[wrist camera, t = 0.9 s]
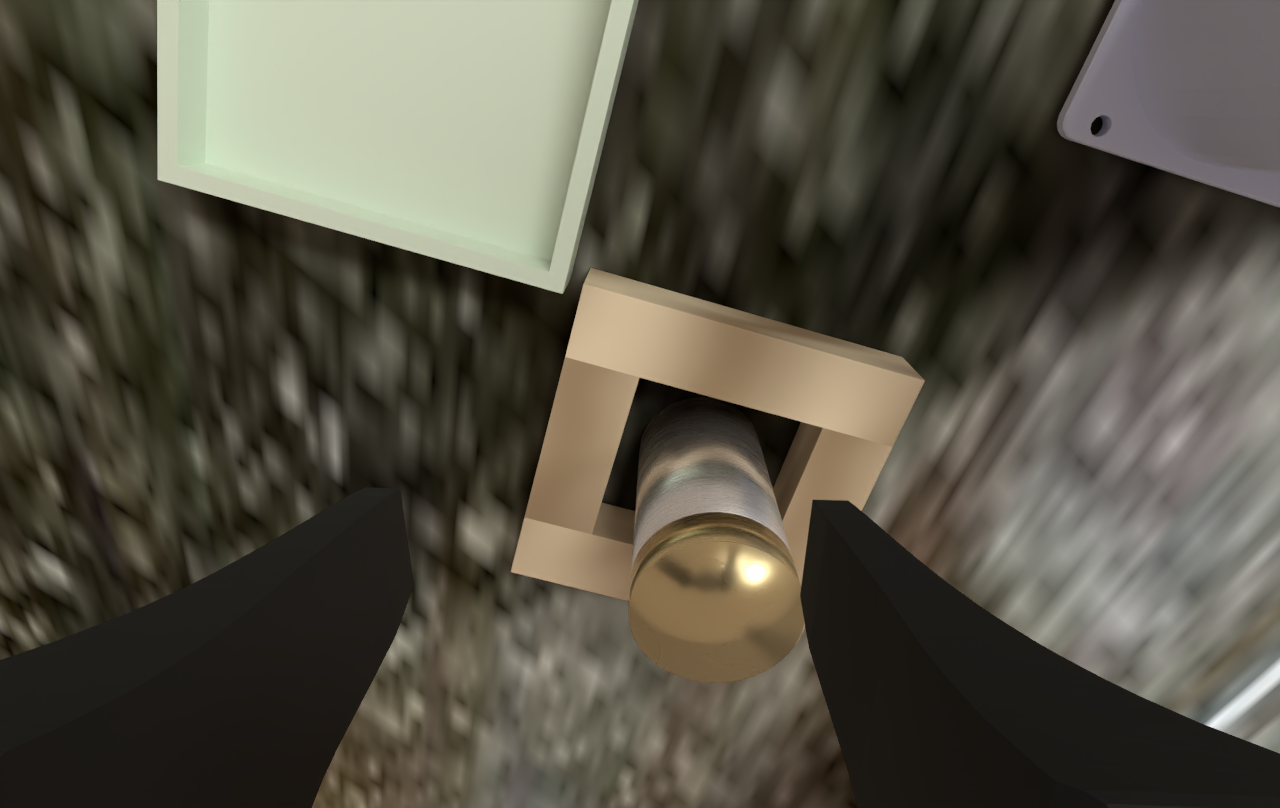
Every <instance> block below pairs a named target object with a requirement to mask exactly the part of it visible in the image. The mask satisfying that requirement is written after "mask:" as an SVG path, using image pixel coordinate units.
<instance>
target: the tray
mask: <svg viewBox="0 0 1280 808" xmlns="http://www.w3.org/2000/svg"><path fill="white" fill-rule="evenodd" d="M638 2H639V0H157V95H158V180H161V181H164V182H168V183H171V184H175V185H178V186H182V187H185V188H189V189H192V190H196V191H199V192H203V193H207V194H210V195H214V196H217V197H221V198H224V199H228V200H231V201H235V202H238V203H242V204H245V205H249V206H253V207H256V208H260V209H263V210H267V211H270V212H274V213H277V214H281V215H284V216H288V217H292V218H295V219H299V220H302V221H306V222H309V223H313V224H316V225H320V226H323V227H327V228H330V229H334V230H338V231H341V232H345V233H348V234H352V235H355V236H359V237H362V238H366V239H369V240H373V241H376V242H380V243H384V244H387V245H391V246H394V247H398V248H401V249H405V250H408V251H412V252H415V253H419V254H423V255H426V256H430V257H433V258H437V259H440V260H444V261H447V262H451V263H454V264H458V265H461V266H465V267H469V268H472V269H476V270H479V271H483V272H486V273H490V274H493V275H497V276H500V277H504V278H507V279H511V280H515V281H518V282H522V283H525V284H529V285H532V286H536V287H539V288H543V289H546V290H550V291H554V292H557V293H561V294H563V292H564V291H565V289H566V287H567V285H568V283H569V281H570V279H571V275H572V271H573V267H574V263H575V259H576V255H577V251H578V247H579V243H580V239H581V235H582V230H583V226H584V222H585V218H586V214H587V210H588V206H589V202H590V198H591V194H592V190H593V186H594V181H595V177H596V173H597V169H598V165H599V161H600V157H601V153H602V149H603V145H604V141H605V136H606V132H607V128H608V124H609V120H610V116H611V112H612V108H613V104H614V100H615V96H616V92H617V87H618V83H619V79H620V75H621V71H622V67H623V63H624V59H625V55H626V51H627V47H628V43H629V38H630V34H631V30H632V26H633V22H634V18H635V14H636V10H637V6H638Z"/></svg>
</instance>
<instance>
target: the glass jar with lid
mask: <svg viewBox="0 0 1280 808" xmlns="http://www.w3.org/2000/svg"><path fill="white" fill-rule="evenodd" d="M800 592H801V585H800V582H799V578H798V575H797V571H796V568H795V564H794V561H793V557H792V554H791V550H790V547H789V544H788V540H787V537H786V533H785V530H784V526H783V523H782V519H781V516H780V512H779V509H778V505H777V502H776V498H775V495H774V491H773V488H772V484H771V481H770V477H769V474H768V470H767V467H766V464H765V460H764V457H763V453H762V450H761V446H760V443H759V439H758V436H757V433H756V430H755V428H754V426H753V425H752V423H751V422H750V420H749V419H748V418H747V417H746V416H745V415H744V414H743V413H742V412H741V411H740V410H738V409H737V408H735V407H734V406H732V405H730V404H728V403H726V402H723V401H720V400H717V399H712V398H703V397H701V398H689V399H684V400H681V401H678V402H675V403H673V404H671V405H669V406H667V407H665V408H664V409H663V410H661V411H660V412H659V413H657V414H656V415H655V416H654V417H653V418H652V420H651V421H650V422H649V424H648V425H647V427H646V429H645V430H644V433H643V435H642V438H641V442H640V450H639V465H638V480H637V495H636V510H635V525H634V540H633V555H632V570H631V585H630V600H629V624H630V628H631V632H632V634H633V636H634V639H635V641H636V642H637V644H638V646H639V647H640V649H641V650H642V651H643V652H644V654H645V655H646V656H647V657H648V658H649V659H650V660H651V661H653V662H654V663H655V664H657V665H658V666H659V667H661V668H662V669H664V670H666V671H668V672H670V673H672V674H674V675H677V676H679V677H682V678H685V679H689V680H694V681H699V682H708V683H724V682H732V681H738V680H742V679H746V678H749V677H752V676H755V675H757V674H760V673H762V672H764V671H766V670H768V669H769V668H771V667H773V666H774V665H776V664H777V663H778V662H779V661H781V660H782V659H783V658H784V657H785V656H786V655H787V654H788V653H789V652H790V651H791V650H792V648H793V647H794V646H795V644H796V643H797V641H798V639H799V637H800V635H801V633H802V630H803V627H804V623H805V622H804V616H803V610H802V604H801V598H800Z"/></svg>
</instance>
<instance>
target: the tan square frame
mask: <svg viewBox="0 0 1280 808" xmlns="http://www.w3.org/2000/svg"><path fill="white" fill-rule="evenodd" d="M639 378H644V379H647V380H651V381H654V382H658V383H662V384H665V385H669V386H673V387H676V388H680V389H684V390H687V391H691V392H694V393H698V394H702V395H705V396H709V397H713V398H716V399H720V400H724V401H727V402H731V403H734V404H738V405H742V406H745V407H749V408H753V409H756V410H760V411H764V412H767V413H771V414H775V415H778V416H782V417H785V418H789V419H793V420H796V421H800V422H801V423H800V425H799V427H798V430H797V432H796V435H795V437H794V439H793V442H792V444H791V447H790V449H789V451H788V454H787V456H786V459H785V461H784V463H783V466H782V468H781V471H780V473H779V475H778V478H777V480H776V482H775V485H774V487H773V491H774V495H775V498H776V502H777V505H778V509H779V512H780V516H781V519H782V523H783V526H784V530H785V533H786V537H787V540H788V544H789V547H790V550H791V554H792V557H793V561H794V564H795V568H796V571H797V575H798V578H799V582H800V585H801V584H802V577H803V569H804V561H805V554H806V546H807V538H808V531H809V523H810V516H811V508H812V500H845V501H849V502H851V503H852V504H853V505H855V506H856V507H857V508H858V509H859V510H861V511H862V509H863V507H864V505H865V503H866V501H867V499H868V497H869V495H870V493H871V491H872V489H873V487H874V484H875V482H876V480H877V478H878V476H879V474H880V472H881V470H882V468H883V466H884V464H885V462H886V460H887V458H888V456H889V454H890V452H891V449H892V447H893V445H894V443H895V441H896V439H897V437H898V435H899V433H900V431H901V429H902V427H903V425H904V423H905V421H906V419H907V417H908V414H909V412H910V410H911V408H912V406H913V404H914V402H915V400H916V398H917V396H918V394H919V392H920V390H921V388H922V386H923V384H924V382H925V380H924V379H923V378H922V377H921V376H920V375H919V374H918V373H917V372H916V371H915V370H914V369H913V368H912V367H911V366H910V365H909V363H908V362H907V361H906V360H905V359H904V358H903V357H900V356H897V355H893V354H890V353H886V352H883V351H879V350H876V349H872V348H869V347H866V346H862V345H859V344H855V343H852V342H848V341H845V340H841V339H838V338H834V337H831V336H827V335H824V334H820V333H817V332H813V331H810V330H806V329H803V328H799V327H796V326H792V325H789V324H785V323H782V322H778V321H775V320H771V319H768V318H764V317H761V316H757V315H754V314H750V313H747V312H743V311H740V310H736V309H733V308H729V307H726V306H722V305H719V304H716V303H712V302H709V301H705V300H702V299H698V298H695V297H691V296H688V295H684V294H681V293H677V292H674V291H670V290H667V289H663V288H660V287H656V286H653V285H649V284H646V283H642V282H639V281H635V280H632V279H628V278H625V277H621V276H618V275H614V274H611V273H607V272H604V271H600V270H597V269H593V268H590V271H589V273H588V275H587V277H586V280H585V282H584V284H583V288H582V292H581V296H580V300H579V304H578V308H577V312H576V316H575V320H574V324H573V328H572V332H571V336H570V340H569V344H568V348H567V352H566V356H565V359H564V363H563V367H562V371H561V375H560V379H559V383H558V387H557V391H556V395H555V399H554V403H553V407H552V411H551V415H550V419H549V423H548V427H547V431H546V434H545V438H544V442H543V446H542V450H541V454H540V458H539V462H538V466H537V470H536V474H535V478H534V482H533V486H532V490H531V494H530V498H529V502H528V506H527V509H526V513H525V517H524V521H523V525H522V529H521V533H520V537H519V541H518V545H517V549H516V553H515V557H514V561H513V565H512V569H511V572H513V573H517V574H521V575H525V576H529V577H533V578H537V579H541V580H545V581H549V582H553V583H557V584H561V585H566V586H570V587H574V588H578V589H582V590H586V591H590V592H594V593H598V594H602V595H606V596H610V597H614V598H618V599H622V600H626V601H629V600H630V585H631V570H632V555H633V540H634V525H635V511H633V510H629V509H625V508H621V507H617V506H613V505H609V504H605V503H602V499H603V496H604V493H605V489H606V486H607V483H608V480H609V476H610V473H611V470H612V466H613V463H614V460H615V457H616V453H617V450H618V447H619V443H620V440H621V437H622V433H623V430H624V427H625V424H626V420H627V417H628V414H629V410H630V407H631V404H632V401H633V397H634V394H635V391H636V387H637V384H638V381H639ZM804 628H805V623H804V627H803V630H802V633H803V631H804ZM802 633H801V635H802ZM801 635H800V637H801ZM800 637H799V639H800ZM799 639H798V641H799ZM798 641H797V643H798Z"/></svg>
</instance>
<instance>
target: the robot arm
mask: <svg viewBox="0 0 1280 808" xmlns="http://www.w3.org/2000/svg"><path fill="white" fill-rule="evenodd" d="M1099 116H1100V117H1101V118H1102V121H1103V125H1102V129H1101V130H1100V131H1099V132H1098V133H1097V134H1095V135H1093V134H1092V133H1091V130H1090V128H1091V124H1092V122H1093V121H1094V120H1095V118H1097V117H1099ZM1057 130H1058V132H1059V133H1060V135H1061V136H1062V137H1064V138H1065V139H1067V140H1070V141H1073V142H1076V143H1079V144H1082V145H1086V146H1089V147H1092V148H1095V149H1098V150H1101V151H1104V152H1107V153H1110V154H1114V155H1117V156H1120V157H1123V158H1126V159H1129V160H1132V161H1135V162H1138V163H1142V164H1145V165H1148V166H1151V167H1154V168H1157V169H1160V170H1163V171H1166V172H1170V173H1173V174H1176V175H1179V176H1182V177H1185V178H1188V179H1191V180H1194V181H1198V182H1201V183H1204V184H1207V185H1210V186H1213V187H1216V188H1219V189H1222V190H1226V191H1229V192H1232V193H1235V194H1238V195H1241V196H1244V197H1247V198H1251V199H1254V200H1257V201H1260V202H1263V203H1266V204H1269V205H1272V206H1275V207H1279V208H1280V0H1115V2H1114V4H1113V6H1112V8H1111V10H1110V12H1109V14H1108V16H1107V18H1106V20H1105V22H1104V24H1103V26H1102V28H1101V30H1100V32H1099V34H1098V36H1097V38H1096V40H1095V42H1094V45H1093V47H1092V49H1091V51H1090V53H1089V55H1088V57H1087V59H1086V61H1085V63H1084V65H1083V67H1082V69H1081V71H1080V73H1079V75H1078V77H1077V79H1076V81H1075V83H1074V85H1073V87H1072V90H1071V92H1070V94H1069V96H1068V98H1067V100H1066V102H1065V104H1064V106H1063V108H1062V110H1061V112H1060V114H1059V117H1058V120H1057ZM413 584H414V582H413V575H412V568H411V562H410V555H409V548H408V541H407V534H406V527H405V520H404V514H403V507H402V500H401V493H400V488H364V489H361V490H359V491H357V492H355V493H353V494H351V495H349V496H348V497H346V498H344V499H342V500H341V501H339V502H337V503H335V504H334V505H332V506H330V507H329V508H327V509H325V510H324V511H322V512H320V513H319V514H317V515H315V516H314V517H312V518H310V519H309V520H307V521H305V522H303V523H302V524H300V525H298V526H297V527H295V528H293V529H292V530H290V531H288V532H287V533H285V534H283V535H282V536H280V537H278V538H276V539H275V540H273V541H271V542H270V543H268V544H266V545H264V546H263V547H261V548H259V549H257V550H255V551H253V552H252V553H250V554H248V555H246V556H244V557H242V558H241V559H239V560H237V561H235V562H233V563H231V564H230V565H228V566H226V567H224V568H222V569H220V570H219V571H217V572H215V573H213V574H211V575H209V576H207V577H205V578H203V579H201V580H199V581H197V582H195V583H193V584H191V585H189V586H187V587H185V588H183V589H181V590H179V591H177V592H175V593H172V594H170V595H168V596H166V597H164V598H161V599H159V600H157V601H155V602H153V603H150V604H148V605H146V606H144V607H142V608H139V609H137V610H134V611H132V612H130V613H127V614H125V615H122V616H120V617H117V618H115V619H112V620H110V621H107V622H104V623H102V624H99V625H97V626H94V627H91V628H89V629H86V630H84V631H81V632H78V633H76V634H73V635H71V636H68V637H66V638H63V639H60V640H58V641H55V642H52V643H50V644H47V645H44V646H41V647H38V648H35V649H32V650H29V651H26V652H23V653H20V654H17V655H14V656H11V657H8V658H5V659H2V660H0V808H312V805H313V803H314V800H315V798H316V795H317V792H318V790H319V787H320V785H321V782H322V780H323V778H324V775H325V773H326V771H327V769H328V767H329V765H330V763H331V760H332V758H333V756H334V754H335V752H336V750H337V748H338V746H339V744H340V742H341V740H342V738H343V736H344V734H345V732H346V731H347V729H348V727H349V725H350V723H351V721H352V719H353V717H354V715H355V713H356V711H357V709H358V708H359V706H360V704H361V702H362V700H363V698H364V696H365V694H366V692H367V690H368V688H369V686H370V685H371V683H372V681H373V679H374V677H375V675H376V673H377V671H378V669H379V667H380V665H381V663H382V661H383V659H384V657H385V655H386V653H387V651H388V649H389V648H390V646H391V643H392V641H393V639H394V637H395V635H396V633H397V630H398V628H399V625H400V622H401V620H402V617H403V614H404V611H405V608H406V605H407V602H408V599H409V596H410V593H411V590H412V587H413ZM800 598H801V604H802V610H803V616H804V622H805V628H806V633H807V638H808V644H809V648H810V652H811V655H812V658H813V662H814V665H815V668H816V671H817V675H818V678H819V681H820V684H821V687H822V691H823V694H824V697H825V700H826V703H827V706H828V709H829V712H830V716H831V719H832V722H833V725H834V728H835V731H836V734H837V737H838V741H839V744H840V747H841V750H842V753H843V756H844V759H845V762H846V766H847V769H848V772H849V776H850V780H851V783H852V787H853V791H854V794H855V799H856V803H857V808H1280V754H1279V753H1276V752H1274V751H1271V750H1269V749H1266V748H1263V747H1261V746H1258V745H1256V744H1253V743H1250V742H1248V741H1245V740H1243V739H1240V738H1237V737H1235V736H1232V735H1229V734H1227V733H1224V732H1222V731H1219V730H1216V729H1214V728H1211V727H1209V726H1206V725H1204V724H1201V723H1199V722H1196V721H1194V720H1192V719H1189V718H1187V717H1185V716H1183V715H1181V714H1178V713H1176V712H1174V711H1172V710H1169V709H1167V708H1165V707H1163V706H1160V705H1158V704H1156V703H1154V702H1151V701H1149V700H1147V699H1145V698H1142V697H1140V696H1138V695H1136V694H1134V693H1132V692H1130V691H1128V690H1126V689H1124V688H1121V687H1119V686H1117V685H1115V684H1113V683H1111V682H1109V681H1107V680H1105V679H1103V678H1101V677H1099V676H1097V675H1095V674H1094V673H1092V672H1090V671H1088V670H1086V669H1084V668H1082V667H1080V666H1078V665H1077V664H1075V663H1073V662H1071V661H1069V660H1067V659H1065V658H1063V657H1061V656H1060V655H1058V654H1056V653H1054V652H1053V651H1051V650H1049V649H1047V648H1046V647H1044V646H1042V645H1040V644H1039V643H1037V642H1035V641H1033V640H1032V639H1030V638H1029V637H1027V636H1025V635H1024V634H1022V633H1021V632H1019V631H1017V630H1016V629H1014V628H1013V627H1011V626H1009V625H1008V624H1006V623H1005V622H1003V621H1001V620H1000V619H998V618H997V617H995V616H994V615H992V614H991V613H989V612H988V611H986V610H985V609H983V608H982V607H980V606H979V605H977V604H976V603H974V602H973V601H972V600H970V599H969V598H968V597H966V596H965V595H964V594H962V593H961V592H959V591H958V590H957V589H955V588H954V587H953V586H951V585H950V584H949V583H947V582H946V581H945V580H943V579H942V578H941V577H939V576H938V575H937V574H936V573H934V572H933V571H932V570H930V569H929V568H928V567H927V566H925V565H924V564H923V563H922V562H920V561H919V560H918V559H917V558H916V557H914V556H913V555H912V554H911V553H910V552H908V551H907V550H906V549H905V548H904V547H902V546H901V545H900V544H899V543H898V542H897V541H895V540H894V539H893V538H892V537H891V536H890V535H888V534H887V533H886V532H885V531H884V530H883V529H881V528H880V527H879V526H878V525H877V524H876V523H875V522H873V521H872V520H871V519H870V518H869V517H868V516H866V515H865V514H864V513H863V512H862V511H861V510H859V509H858V508H857V507H856V506H855V505H853V504H852V503H851V502H849V501H845V500H812V508H811V516H810V523H809V531H808V538H807V546H806V554H805V561H804V569H803V577H802V584H801V592H800Z"/></svg>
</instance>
